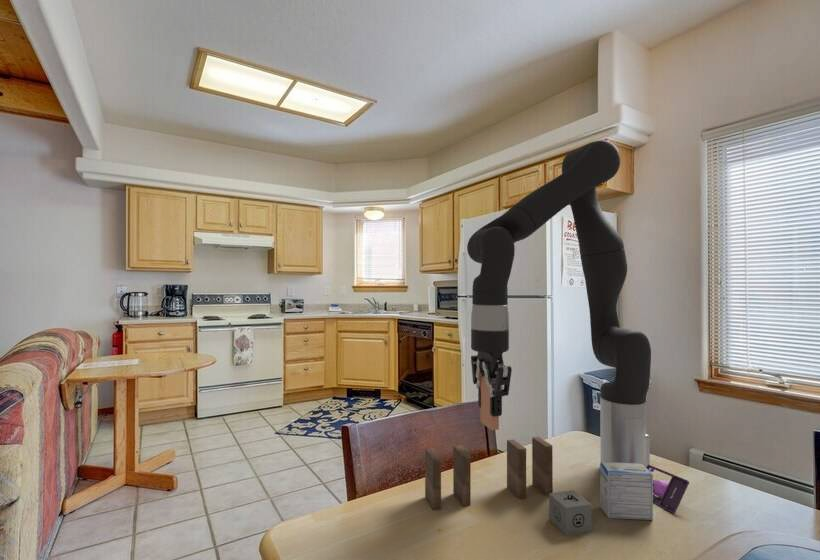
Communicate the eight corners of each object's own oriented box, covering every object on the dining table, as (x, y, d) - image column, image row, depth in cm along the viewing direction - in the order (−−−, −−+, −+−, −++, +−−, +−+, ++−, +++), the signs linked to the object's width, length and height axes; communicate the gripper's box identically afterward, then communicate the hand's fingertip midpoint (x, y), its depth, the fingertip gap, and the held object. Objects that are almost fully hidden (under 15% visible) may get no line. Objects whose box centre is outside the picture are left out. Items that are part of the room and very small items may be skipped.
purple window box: (670, 510, 77) (631, 490, 85) (688, 525, 78) (647, 504, 86) (686, 478, 79) (645, 462, 87) (702, 493, 80) (661, 475, 88)
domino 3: (487, 421, 86) (487, 373, 86) (498, 429, 81) (498, 378, 81) (480, 422, 86) (480, 373, 86) (491, 430, 81) (491, 378, 81)
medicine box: (642, 508, 79) (642, 462, 79) (653, 521, 75) (653, 473, 75) (599, 506, 80) (599, 461, 80) (608, 519, 76) (608, 471, 76)
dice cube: (591, 533, 71) (591, 504, 71) (565, 537, 70) (565, 507, 70) (573, 517, 76) (573, 490, 76) (549, 520, 75) (549, 493, 75)
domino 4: (513, 486, 87) (513, 439, 88) (526, 498, 83) (526, 448, 83) (506, 487, 87) (506, 440, 87) (519, 499, 82) (519, 449, 82)
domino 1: (432, 498, 83) (432, 448, 83) (441, 511, 78) (441, 458, 78) (425, 499, 82) (425, 448, 82) (432, 512, 78) (432, 459, 78)
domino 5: (538, 483, 89) (538, 436, 89) (552, 494, 84) (552, 445, 84) (532, 484, 89) (532, 437, 89) (545, 495, 84) (545, 446, 84)
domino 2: (460, 494, 84) (460, 445, 84) (470, 507, 80) (470, 454, 80) (453, 495, 84) (453, 445, 84) (462, 508, 79) (462, 455, 79)
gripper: (525, 330, 78) (524, 421, 77) (491, 323, 91) (490, 400, 91) (488, 331, 76) (488, 424, 76) (459, 324, 90) (459, 402, 89)
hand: (489, 411), depth 83 cm, fingers closed on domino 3, 5 cm apart
